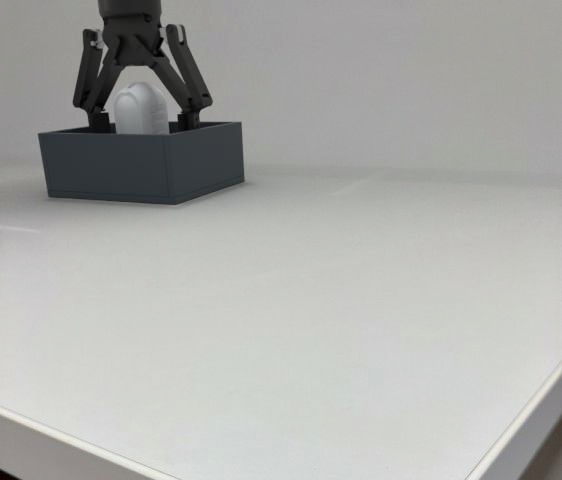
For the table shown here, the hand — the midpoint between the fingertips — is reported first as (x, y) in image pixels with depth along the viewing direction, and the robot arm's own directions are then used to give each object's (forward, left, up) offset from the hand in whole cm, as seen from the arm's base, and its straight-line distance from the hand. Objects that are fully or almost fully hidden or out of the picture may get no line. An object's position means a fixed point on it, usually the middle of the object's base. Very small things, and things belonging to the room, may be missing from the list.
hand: (147, 165), depth 91 cm
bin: (0, 0, -3) cm, 3 cm away
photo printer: (0, 0, -2) cm, 2 cm away
